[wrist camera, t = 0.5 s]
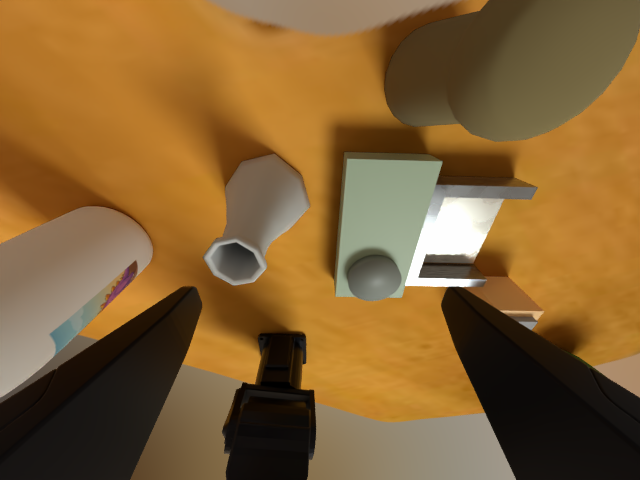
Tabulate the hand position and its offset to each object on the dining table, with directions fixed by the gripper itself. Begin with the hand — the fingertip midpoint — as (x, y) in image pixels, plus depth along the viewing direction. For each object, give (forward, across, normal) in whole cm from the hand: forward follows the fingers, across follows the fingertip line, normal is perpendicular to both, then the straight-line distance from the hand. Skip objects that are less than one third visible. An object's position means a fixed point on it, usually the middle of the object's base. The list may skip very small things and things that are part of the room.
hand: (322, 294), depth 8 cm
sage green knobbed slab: (+14, -5, +5) cm, 16 cm away
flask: (+14, +5, +1) cm, 15 cm away
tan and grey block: (+14, -19, +14) cm, 28 cm away
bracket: (+14, -13, +5) cm, 20 cm away
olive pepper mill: (+14, -8, -7) cm, 17 cm away
